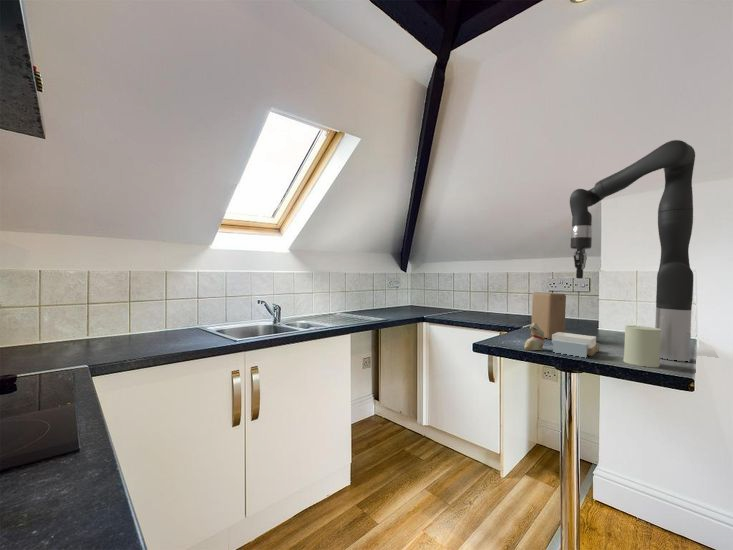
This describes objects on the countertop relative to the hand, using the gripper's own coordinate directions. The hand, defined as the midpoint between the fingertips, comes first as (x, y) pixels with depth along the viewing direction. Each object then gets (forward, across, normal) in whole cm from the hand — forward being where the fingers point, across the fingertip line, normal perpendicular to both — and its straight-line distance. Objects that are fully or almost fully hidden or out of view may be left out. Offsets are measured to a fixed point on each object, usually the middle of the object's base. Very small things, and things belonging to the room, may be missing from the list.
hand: (579, 278), depth 146 cm
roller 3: (+25, -15, -4) cm, 29 cm away
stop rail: (+27, -32, -4) cm, 42 cm away
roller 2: (+25, -18, -4) cm, 31 cm away
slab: (+24, -27, -4) cm, 36 cm away
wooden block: (+27, +2, +12) cm, 30 cm away
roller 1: (+24, -27, -4) cm, 36 cm away
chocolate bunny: (+27, -32, +8) cm, 43 cm away
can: (+27, -27, -23) cm, 45 cm away
